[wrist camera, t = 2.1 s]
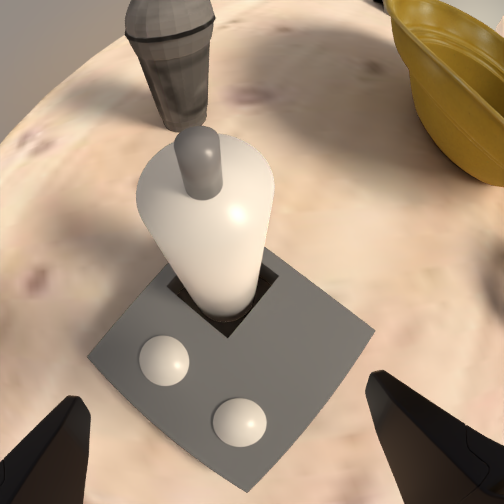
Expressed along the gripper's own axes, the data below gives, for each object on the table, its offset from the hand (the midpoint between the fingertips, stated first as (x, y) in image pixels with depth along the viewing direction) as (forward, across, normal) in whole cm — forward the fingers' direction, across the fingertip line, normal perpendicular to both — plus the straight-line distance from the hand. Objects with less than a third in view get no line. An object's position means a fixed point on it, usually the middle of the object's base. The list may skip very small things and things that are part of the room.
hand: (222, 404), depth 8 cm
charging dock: (+11, 0, +8) cm, 13 cm away
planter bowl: (+25, -32, -7) cm, 41 cm away
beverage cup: (+27, +3, -8) cm, 28 cm away
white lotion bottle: (+14, 0, +4) cm, 15 cm away
